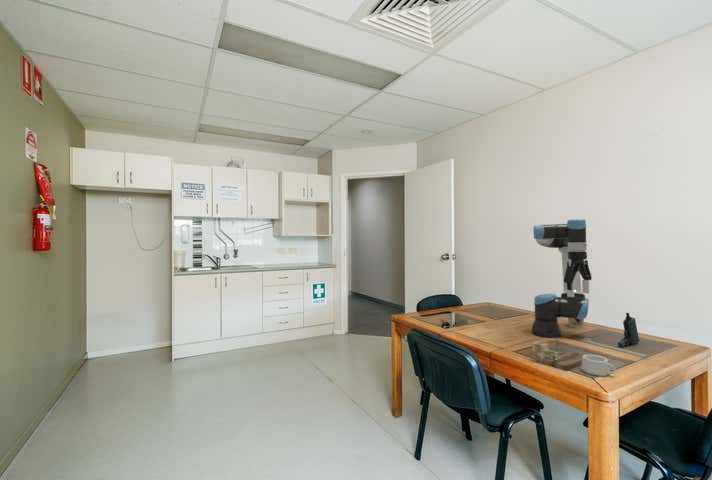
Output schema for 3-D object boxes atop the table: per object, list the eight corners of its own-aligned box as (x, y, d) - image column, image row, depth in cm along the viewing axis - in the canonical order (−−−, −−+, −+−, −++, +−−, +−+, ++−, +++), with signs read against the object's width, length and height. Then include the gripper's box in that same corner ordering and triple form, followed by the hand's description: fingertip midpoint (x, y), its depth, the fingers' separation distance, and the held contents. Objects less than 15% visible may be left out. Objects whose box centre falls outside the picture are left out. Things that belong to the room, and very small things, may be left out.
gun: (612, 320, 168) (628, 309, 174) (618, 351, 169) (634, 339, 175) (618, 321, 165) (634, 310, 171) (624, 352, 167) (640, 340, 173)
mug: (577, 371, 141) (577, 357, 141) (586, 365, 146) (586, 352, 146) (611, 380, 131) (611, 365, 131) (619, 374, 137) (619, 359, 137)
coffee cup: (571, 328, 204) (570, 309, 204) (564, 324, 213) (563, 306, 213) (588, 328, 202) (587, 309, 202) (580, 324, 212) (579, 306, 212)
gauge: (532, 360, 155) (532, 343, 155) (538, 357, 157) (538, 341, 157) (554, 366, 146) (553, 348, 146) (560, 364, 149) (559, 346, 149)
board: (543, 363, 150) (543, 359, 150) (566, 354, 160) (566, 350, 160) (567, 370, 141) (567, 366, 141) (589, 360, 152) (589, 356, 152)
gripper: (571, 252, 149) (572, 299, 149) (599, 249, 161) (600, 292, 161) (554, 252, 155) (555, 297, 156) (582, 249, 168) (583, 290, 168)
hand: (578, 295), depth 158 cm, fingers open, 13 cm apart
